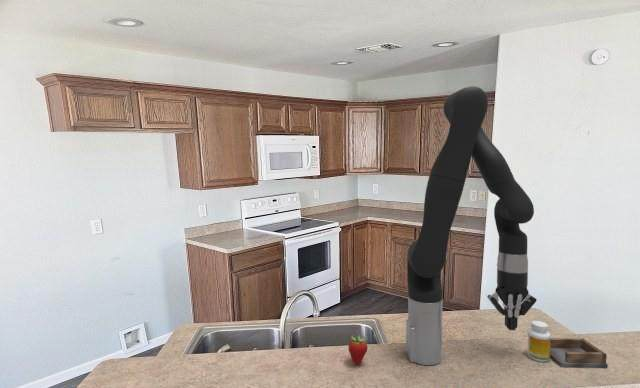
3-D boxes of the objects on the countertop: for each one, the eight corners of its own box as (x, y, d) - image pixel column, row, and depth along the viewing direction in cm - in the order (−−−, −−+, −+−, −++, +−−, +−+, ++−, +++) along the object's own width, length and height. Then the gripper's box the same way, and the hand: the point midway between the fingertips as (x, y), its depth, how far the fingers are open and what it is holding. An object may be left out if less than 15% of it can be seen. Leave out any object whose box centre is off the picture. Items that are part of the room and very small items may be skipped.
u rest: (560, 367, 95) (561, 354, 94) (539, 348, 105) (539, 337, 104) (607, 368, 94) (608, 355, 94) (581, 349, 104) (581, 337, 104)
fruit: (367, 359, 99) (367, 331, 99) (367, 369, 94) (367, 340, 94) (349, 358, 100) (348, 330, 100) (348, 368, 95) (348, 339, 94)
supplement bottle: (553, 363, 96) (554, 328, 96) (531, 361, 98) (532, 327, 97) (545, 353, 102) (546, 320, 101) (524, 351, 103) (525, 319, 102)
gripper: (493, 271, 95) (492, 334, 96) (544, 272, 95) (542, 335, 96) (482, 264, 103) (481, 323, 104) (529, 264, 102) (527, 323, 103)
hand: (511, 329), depth 100 cm, fingers closed
